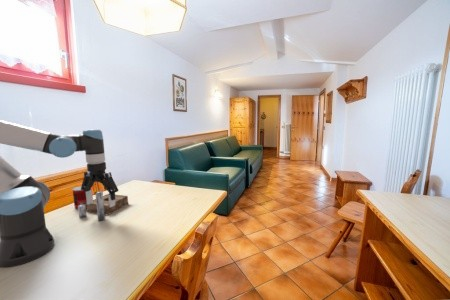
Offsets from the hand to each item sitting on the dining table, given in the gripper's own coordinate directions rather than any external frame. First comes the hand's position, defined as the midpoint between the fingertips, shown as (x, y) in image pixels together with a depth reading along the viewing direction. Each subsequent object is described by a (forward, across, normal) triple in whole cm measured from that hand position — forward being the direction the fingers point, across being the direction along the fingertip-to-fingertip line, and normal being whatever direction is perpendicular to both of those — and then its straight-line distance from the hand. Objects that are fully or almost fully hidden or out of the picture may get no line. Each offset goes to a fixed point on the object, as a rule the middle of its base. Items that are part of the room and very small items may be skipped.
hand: (101, 204), depth 96 cm
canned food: (+8, +24, -10) cm, 27 cm away
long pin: (+8, 0, 0) cm, 8 cm away
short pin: (+8, +12, 0) cm, 14 cm away
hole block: (+8, +8, -12) cm, 16 cm away
